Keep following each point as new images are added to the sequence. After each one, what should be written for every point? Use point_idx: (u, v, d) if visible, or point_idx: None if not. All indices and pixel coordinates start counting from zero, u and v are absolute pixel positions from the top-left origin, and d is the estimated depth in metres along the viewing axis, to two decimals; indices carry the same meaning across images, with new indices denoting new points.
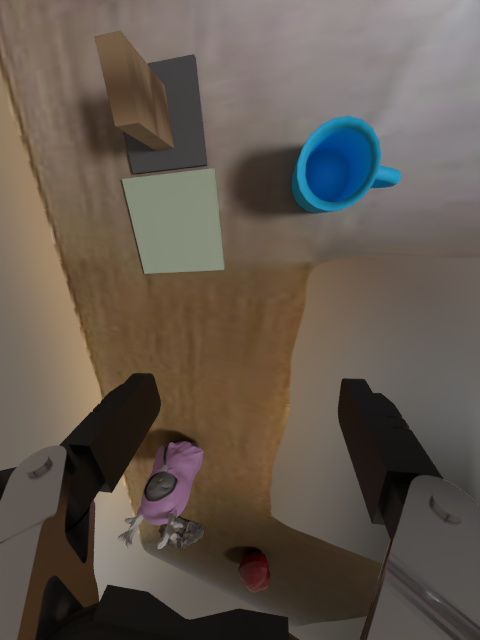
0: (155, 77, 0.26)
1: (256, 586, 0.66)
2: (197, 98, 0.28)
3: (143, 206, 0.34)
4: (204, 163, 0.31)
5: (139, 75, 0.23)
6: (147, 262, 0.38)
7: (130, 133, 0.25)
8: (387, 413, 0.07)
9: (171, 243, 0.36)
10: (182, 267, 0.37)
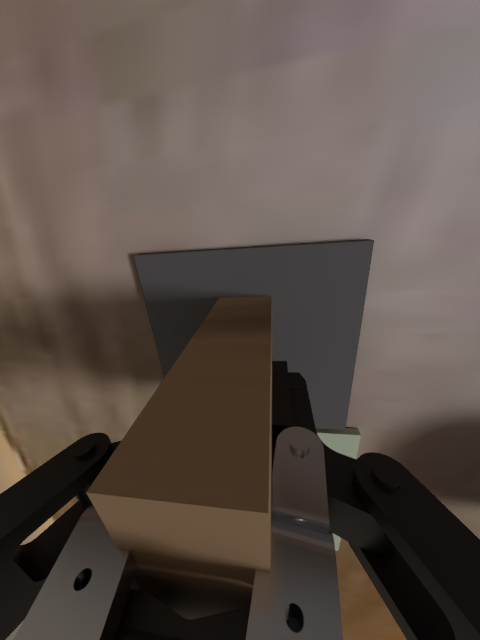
0: (271, 324, 0.09)
1: None
2: (357, 326, 0.11)
3: None
4: (341, 427, 0.14)
5: None
6: None
7: None
8: (296, 387, 0.09)
9: None
10: None
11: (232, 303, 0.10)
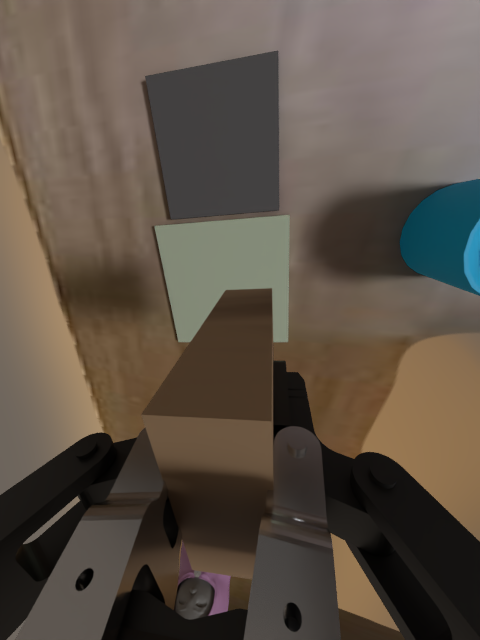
0: None
1: None
2: (276, 117, 0.19)
3: (182, 261, 0.25)
4: (276, 208, 0.22)
5: None
6: (183, 329, 0.29)
7: None
8: (295, 387, 0.09)
9: None
10: None
11: (237, 294, 0.12)
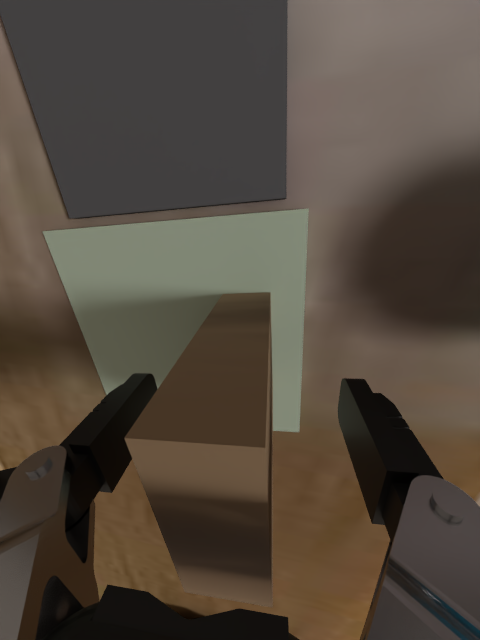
0: None
1: None
2: None
3: (105, 297, 0.13)
4: (281, 194, 0.10)
5: None
6: None
7: None
8: (387, 413, 0.07)
9: None
10: None
11: (234, 299, 0.11)
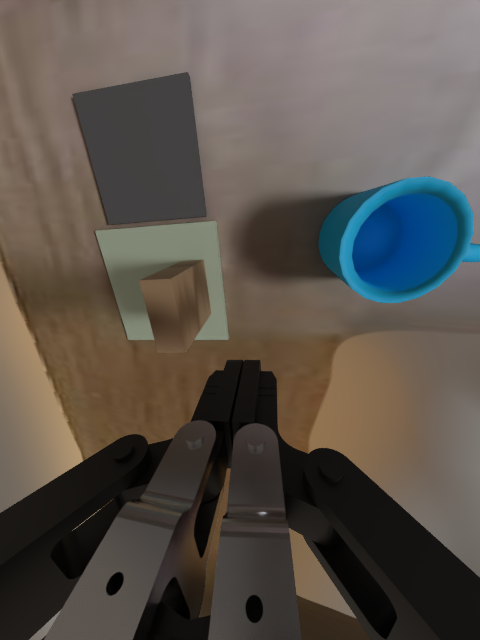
0: (197, 267, 0.23)
1: None
2: (192, 131, 0.20)
3: (124, 263, 0.27)
4: (202, 214, 0.23)
5: (185, 294, 0.20)
6: (131, 327, 0.30)
7: None
8: (266, 385, 0.09)
9: None
10: None
11: (185, 262, 0.25)
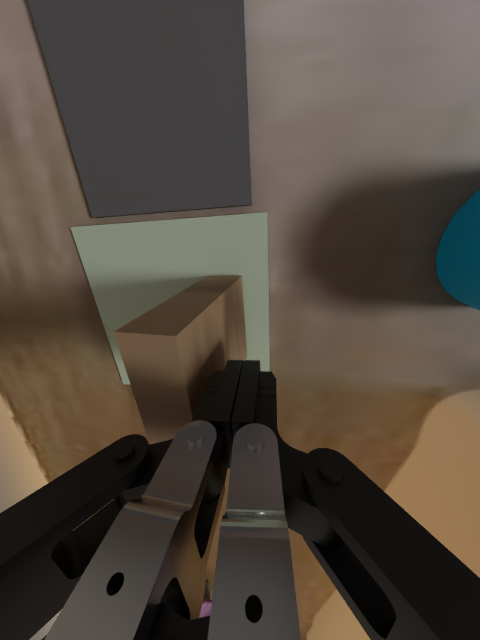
0: (231, 291, 0.13)
1: None
2: (240, 46, 0.11)
3: (116, 278, 0.17)
4: (247, 202, 0.14)
5: (208, 350, 0.10)
6: None
7: None
8: (266, 385, 0.09)
9: None
10: None
11: (212, 279, 0.15)
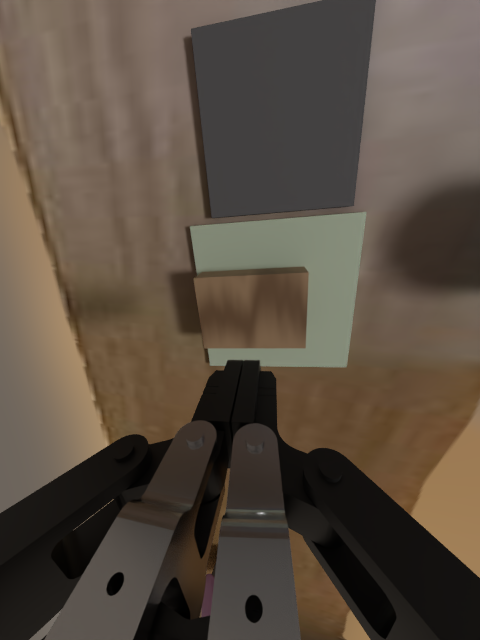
0: (274, 278, 0.17)
1: None
2: (364, 82, 0.14)
3: (222, 270, 0.20)
4: (350, 203, 0.17)
5: (223, 300, 0.19)
6: (217, 351, 0.24)
7: None
8: (266, 385, 0.09)
9: None
10: (275, 360, 0.23)
11: (293, 268, 0.19)
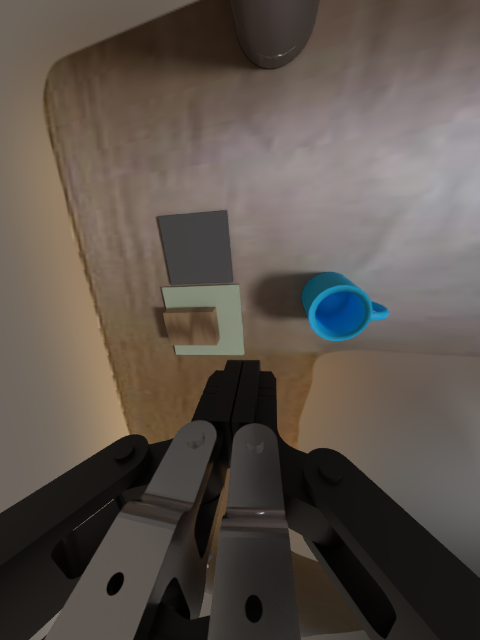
0: (198, 314, 0.39)
1: None
2: (227, 238, 0.35)
3: (178, 307, 0.42)
4: (231, 281, 0.38)
5: (177, 323, 0.40)
6: (179, 346, 0.45)
7: None
8: (266, 385, 0.09)
9: None
10: (209, 351, 0.45)
11: (209, 308, 0.40)
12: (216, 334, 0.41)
